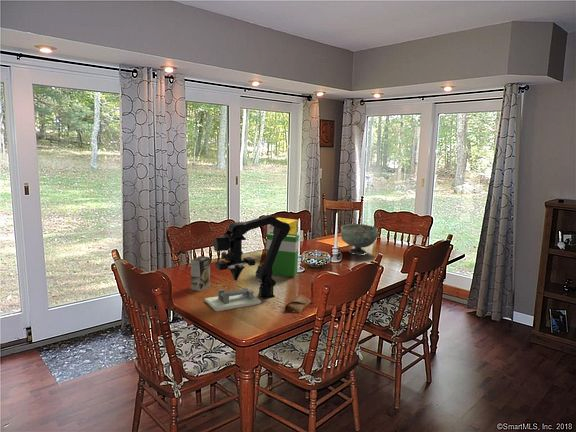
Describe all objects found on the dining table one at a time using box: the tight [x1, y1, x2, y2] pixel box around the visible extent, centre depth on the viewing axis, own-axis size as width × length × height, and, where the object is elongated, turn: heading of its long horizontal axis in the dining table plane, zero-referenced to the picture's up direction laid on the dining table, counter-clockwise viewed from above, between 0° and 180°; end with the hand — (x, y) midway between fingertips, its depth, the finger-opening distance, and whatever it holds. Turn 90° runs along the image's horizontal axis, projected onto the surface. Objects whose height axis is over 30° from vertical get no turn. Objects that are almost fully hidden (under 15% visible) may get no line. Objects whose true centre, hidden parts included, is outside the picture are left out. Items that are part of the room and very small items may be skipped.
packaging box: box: [266, 217, 299, 235], centre depth 292 cm, size 16×16×25 cm
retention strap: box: [220, 287, 252, 297], centre depth 206 cm, size 15×5×1 cm, turn 122°
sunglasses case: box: [284, 293, 312, 312], centre depth 205 cm, size 18×7×7 cm, turn 157°
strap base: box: [204, 287, 262, 312], centre depth 205 cm, size 23×14×6 cm, turn 122°
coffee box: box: [190, 255, 211, 292], centre depth 223 cm, size 9×6×16 cm
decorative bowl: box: [340, 223, 379, 254], centre depth 308 cm, size 26×26×20 cm
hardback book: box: [265, 232, 300, 278], centre depth 252 cm, size 18×7×24 cm, turn 75°
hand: (235, 280), depth 206 cm, fingers closed
